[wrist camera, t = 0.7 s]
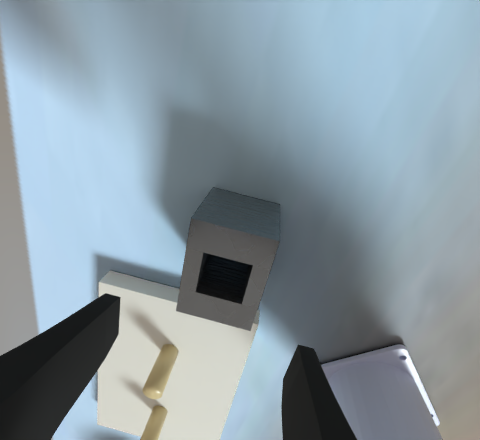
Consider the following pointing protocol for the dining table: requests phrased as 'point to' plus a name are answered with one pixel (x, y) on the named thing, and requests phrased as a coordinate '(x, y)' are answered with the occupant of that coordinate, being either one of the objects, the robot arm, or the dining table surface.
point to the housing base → (167, 365)
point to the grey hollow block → (228, 258)
